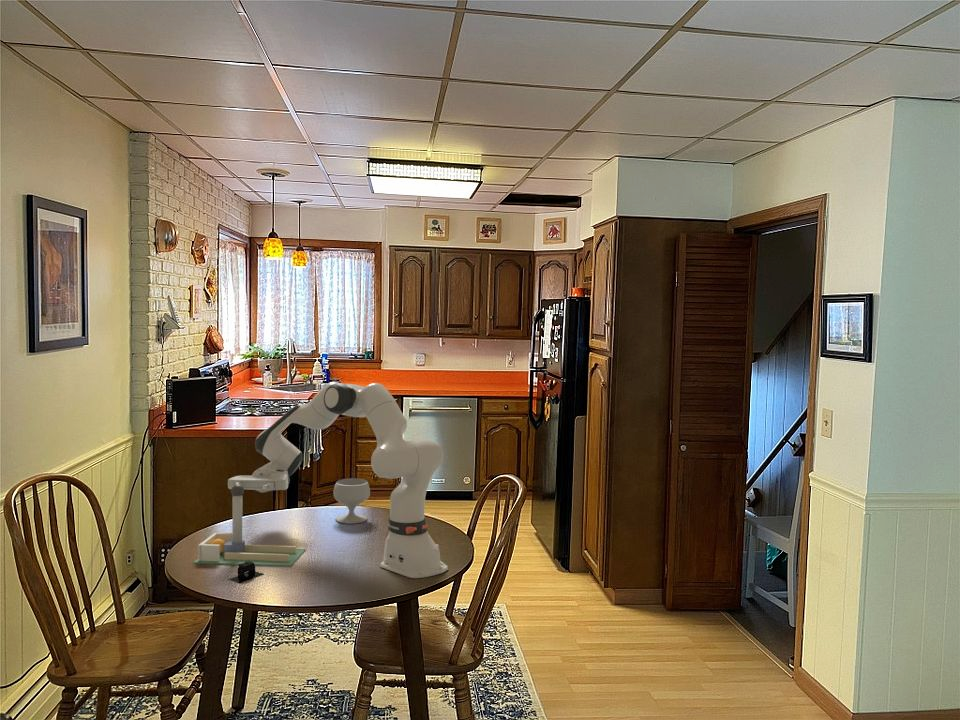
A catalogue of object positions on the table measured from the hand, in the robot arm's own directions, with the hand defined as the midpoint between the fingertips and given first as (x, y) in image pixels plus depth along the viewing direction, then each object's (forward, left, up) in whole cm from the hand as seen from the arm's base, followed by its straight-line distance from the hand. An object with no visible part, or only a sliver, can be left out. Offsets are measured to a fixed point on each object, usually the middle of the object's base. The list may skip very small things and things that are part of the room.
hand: (250, 487), depth 240 cm
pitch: (-12, +4, -20) cm, 23 cm away
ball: (-5, +13, -17) cm, 21 cm away
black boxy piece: (-28, +12, -20) cm, 37 cm away
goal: (-11, +5, -19) cm, 23 cm away
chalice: (+8, -42, -20) cm, 48 cm away
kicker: (-8, +8, -19) cm, 22 cm away
